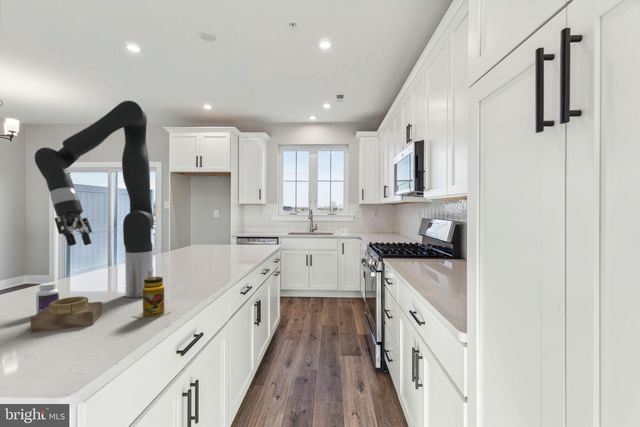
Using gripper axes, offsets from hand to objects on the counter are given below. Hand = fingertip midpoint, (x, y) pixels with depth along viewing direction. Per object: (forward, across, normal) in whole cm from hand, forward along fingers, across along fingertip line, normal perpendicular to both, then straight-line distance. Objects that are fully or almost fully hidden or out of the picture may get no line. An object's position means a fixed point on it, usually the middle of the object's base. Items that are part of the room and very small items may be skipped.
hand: (80, 244), depth 108 cm
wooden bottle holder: (+24, -18, 0) cm, 30 cm away
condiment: (+31, -14, -21) cm, 40 cm away
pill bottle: (+20, -9, +11) cm, 24 cm away
